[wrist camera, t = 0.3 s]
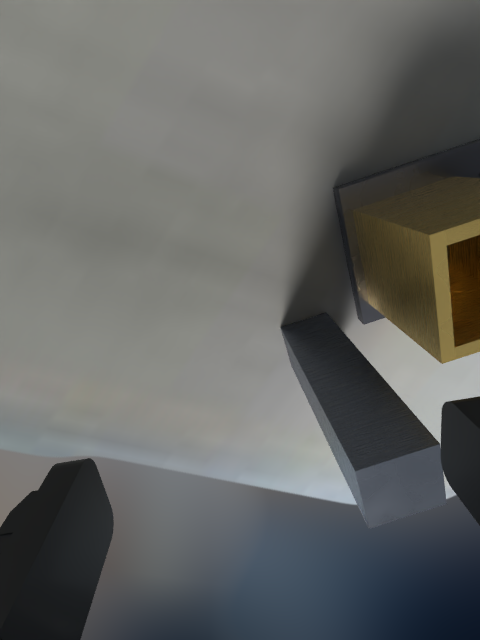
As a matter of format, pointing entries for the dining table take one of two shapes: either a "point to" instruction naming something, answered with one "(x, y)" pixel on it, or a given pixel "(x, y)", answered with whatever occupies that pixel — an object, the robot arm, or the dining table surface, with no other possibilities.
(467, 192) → the flanged pole stand
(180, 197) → the dining table surface
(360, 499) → the grey square peg
